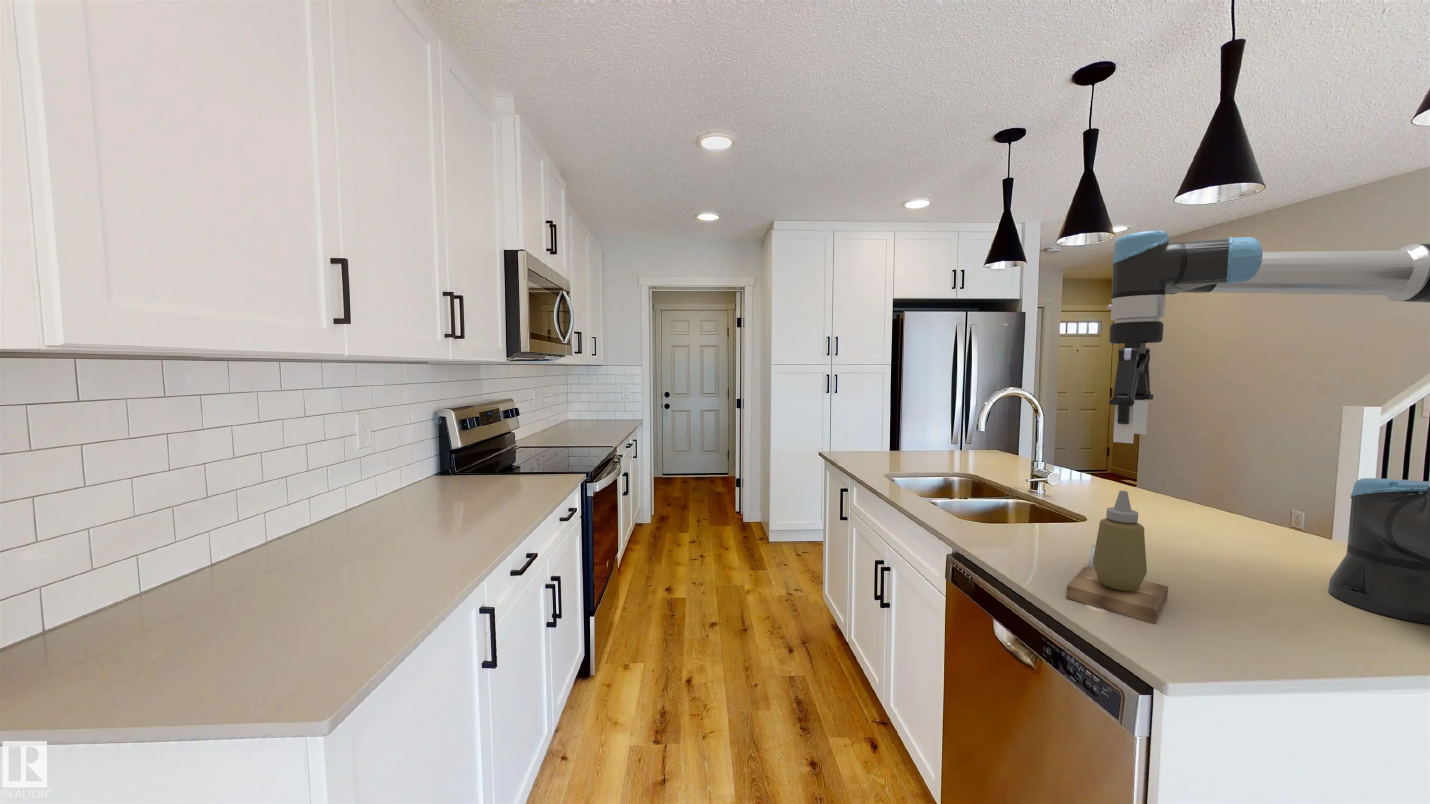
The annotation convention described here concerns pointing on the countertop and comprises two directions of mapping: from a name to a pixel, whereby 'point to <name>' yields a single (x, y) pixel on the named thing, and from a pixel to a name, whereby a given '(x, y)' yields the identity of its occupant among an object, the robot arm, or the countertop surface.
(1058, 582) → the countertop surface
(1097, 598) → the plate
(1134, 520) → the squeeze bottle
